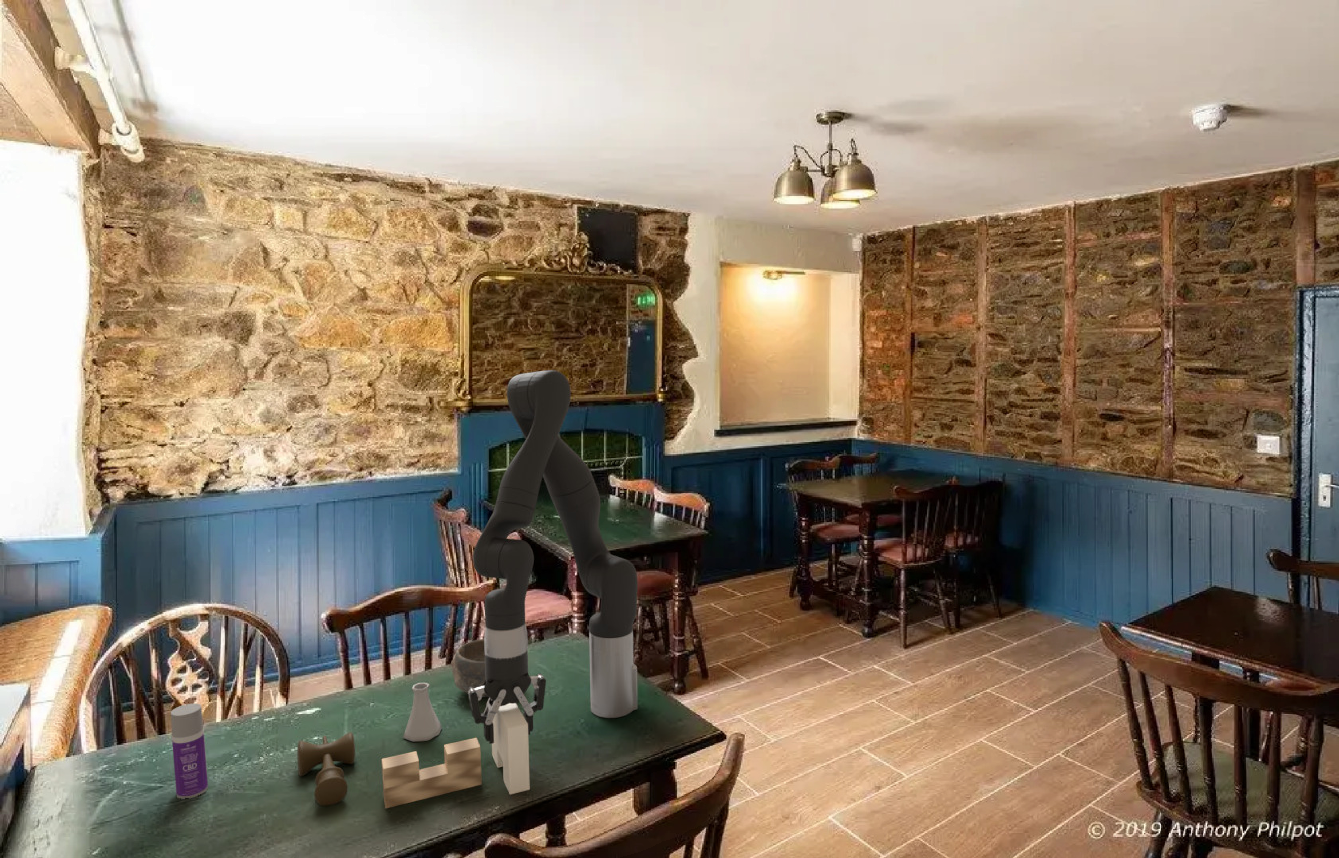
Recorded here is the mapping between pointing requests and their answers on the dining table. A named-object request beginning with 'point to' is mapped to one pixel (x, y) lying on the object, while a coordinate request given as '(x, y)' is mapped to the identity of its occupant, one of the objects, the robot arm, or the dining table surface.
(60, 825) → the dining table surface
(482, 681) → the bowl
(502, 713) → the white rectangular block
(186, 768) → the container
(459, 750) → the oak base
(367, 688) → the dining table surface
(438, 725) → the flask
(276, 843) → the dining table surface
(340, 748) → the kendama
